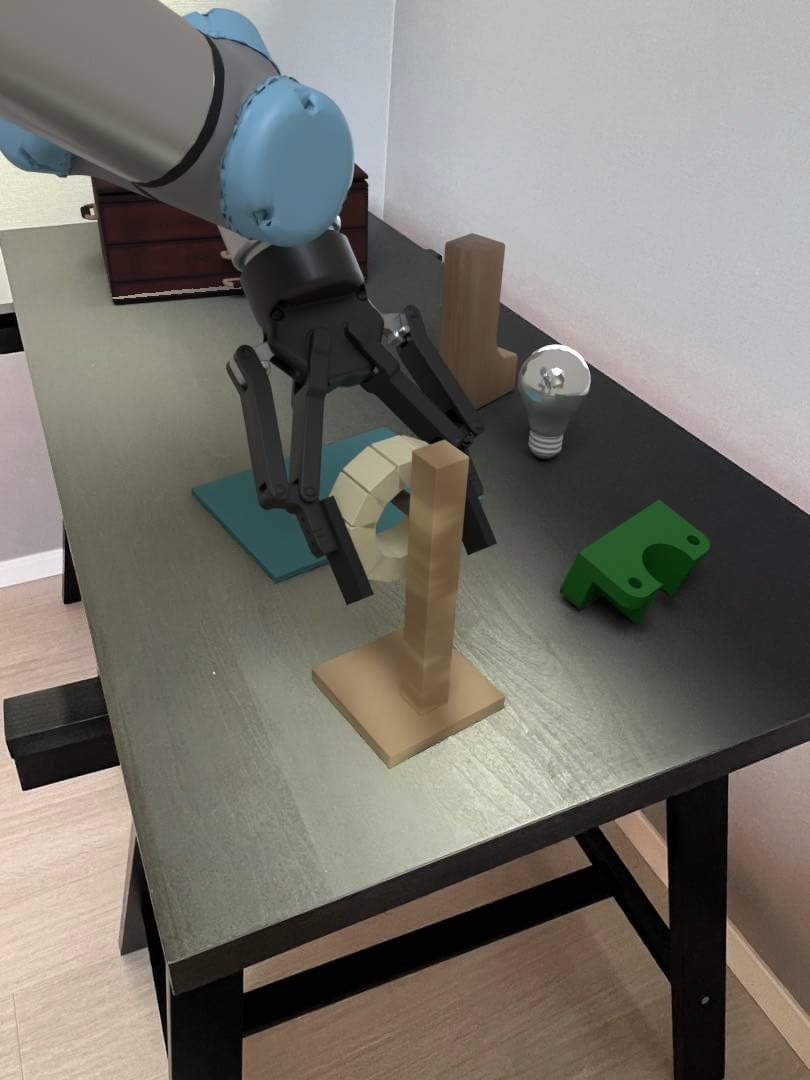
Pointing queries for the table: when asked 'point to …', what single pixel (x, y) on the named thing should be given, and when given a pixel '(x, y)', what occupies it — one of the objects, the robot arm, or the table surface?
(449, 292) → the wooden block
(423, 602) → the hook stand
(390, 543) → the segmented ring
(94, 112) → the robot arm
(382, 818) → the table surface
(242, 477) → the mat
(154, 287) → the storage box
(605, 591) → the clamp
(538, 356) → the light bulb
